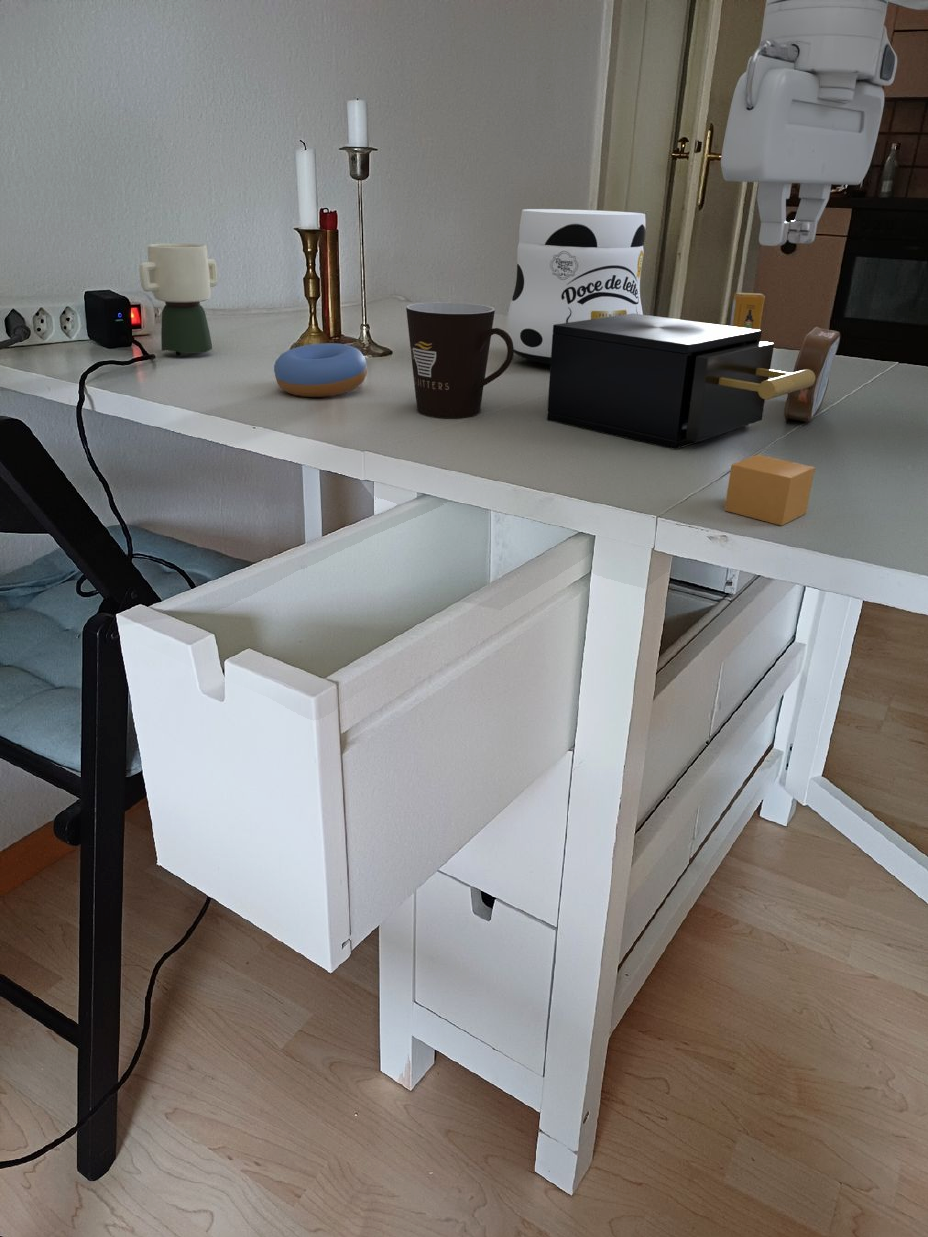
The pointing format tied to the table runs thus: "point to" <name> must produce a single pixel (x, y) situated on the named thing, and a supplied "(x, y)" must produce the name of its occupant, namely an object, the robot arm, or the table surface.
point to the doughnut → (320, 369)
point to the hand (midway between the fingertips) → (786, 244)
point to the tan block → (769, 489)
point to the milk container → (573, 273)
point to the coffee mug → (452, 356)
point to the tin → (818, 359)
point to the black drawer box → (630, 373)
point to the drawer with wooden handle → (734, 388)
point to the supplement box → (747, 310)
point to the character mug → (181, 293)
